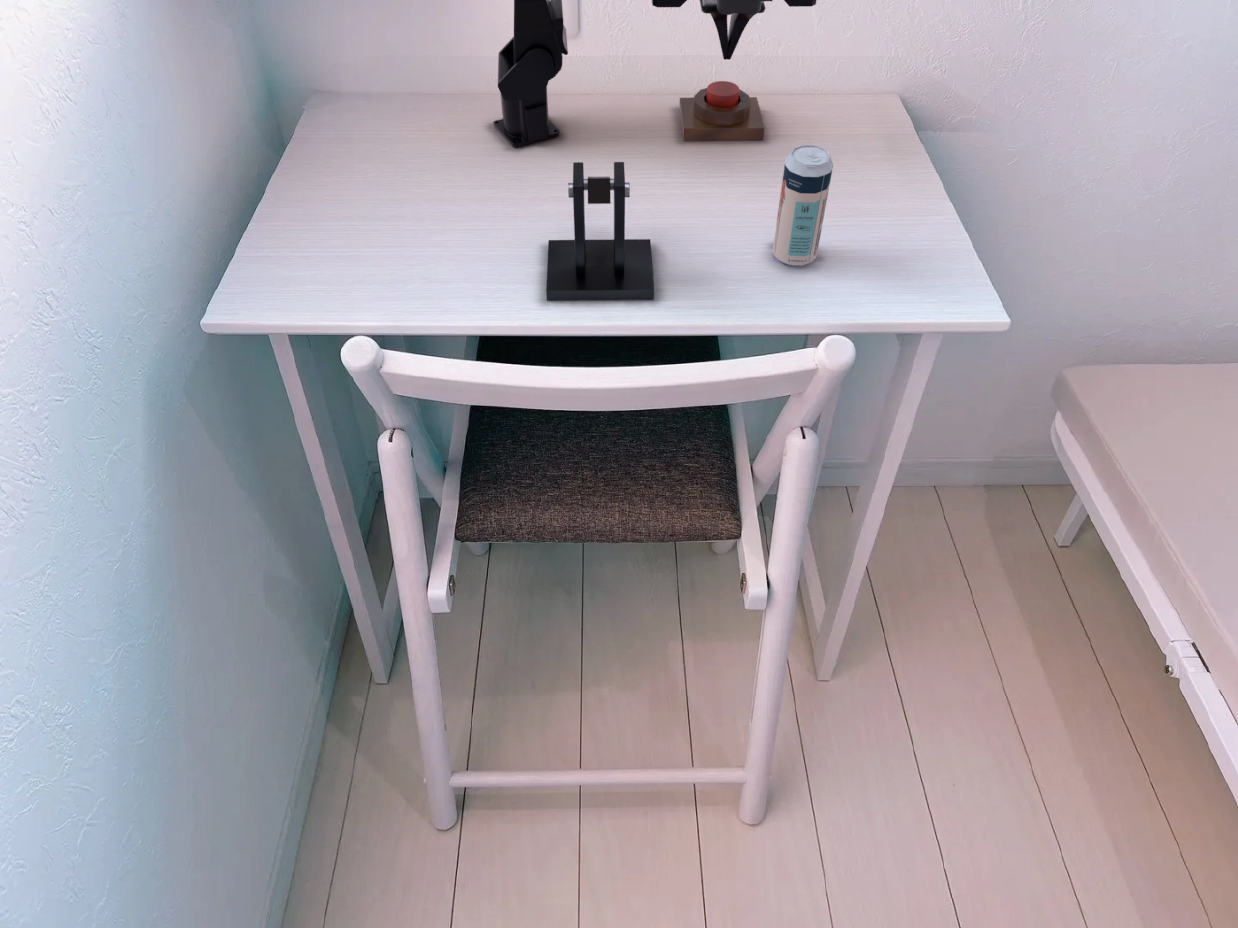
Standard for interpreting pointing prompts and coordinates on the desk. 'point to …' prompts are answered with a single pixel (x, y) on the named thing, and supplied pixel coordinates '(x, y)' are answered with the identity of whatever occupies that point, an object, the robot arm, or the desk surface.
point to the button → (722, 94)
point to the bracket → (599, 254)
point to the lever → (598, 189)
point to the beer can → (802, 204)
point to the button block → (720, 119)
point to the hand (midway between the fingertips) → (726, 58)
